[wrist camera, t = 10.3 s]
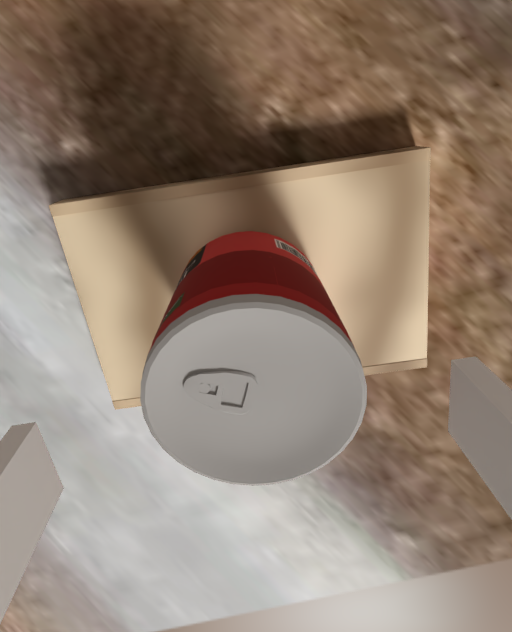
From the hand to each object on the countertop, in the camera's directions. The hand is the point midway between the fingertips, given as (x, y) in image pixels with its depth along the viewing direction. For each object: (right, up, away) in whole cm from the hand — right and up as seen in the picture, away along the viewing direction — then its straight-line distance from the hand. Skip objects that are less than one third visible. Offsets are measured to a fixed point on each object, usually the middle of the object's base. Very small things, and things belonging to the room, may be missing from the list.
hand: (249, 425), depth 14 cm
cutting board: (0, +6, +13) cm, 14 cm away
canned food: (0, +5, +11) cm, 12 cm away
